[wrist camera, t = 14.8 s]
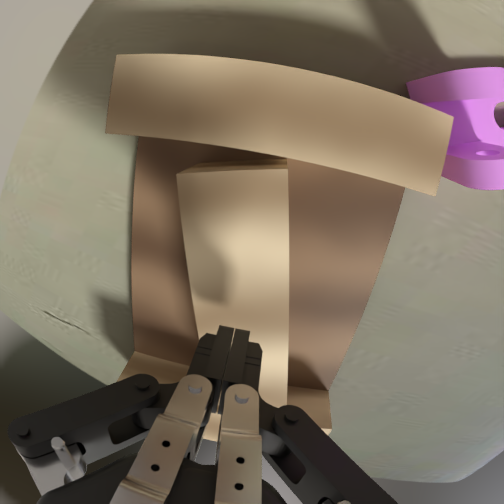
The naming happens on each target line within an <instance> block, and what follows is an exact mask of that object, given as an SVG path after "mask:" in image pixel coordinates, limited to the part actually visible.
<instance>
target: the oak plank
mask: <svg viewBox="0 0 504 504" xmlns="http://www.w3.org/2000/svg"><path fill="white" fill-rule="evenodd" d="M176 176H177V186H178V196H179V205H180V213H181V222H182V230H183V238H184V245H185V253H186V260H187V267H188V274H189V281H190V287H191V294H192V300H193V306H194V312H195V318H196V324H197V330H198V336H199V340H200V338H201V337H202V336H203V335H205V334H206V333H210V334H215V335H216V334H217V331H218V328H219V325H222V326H227V327H232V328H234V332H235V328H237V329H242V330H247V331H250V336H249V342H255V343H259V344H260V346H261V349H262V351H263V353H262V362H261V371H260V380H259V394H260V396H261V398H262V399H263V400H264V401H265V402H266V403H268V404H270V405H272V406H274V407H277V408H279V407H281V406H284V405H287V382H288V343H289V197H288V164H287V159H275V160H244V161H224V162H208V163H198V164H196V165H194V166H192V167H190V168H188V169H186V170H184V171H182V172H180V173H178V174H176ZM233 337H234V333H233ZM232 341H233V339H232ZM231 345H232V344H231ZM220 396H221V394H220ZM219 402H220V399H219ZM218 405H219V403H218Z"/></svg>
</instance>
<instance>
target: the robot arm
mask: <svg viewBox="0 0 504 504" xmlns="http://www.w3.org/2000/svg"><path fill="white" fill-rule="evenodd" d="M233 333H234V337H233ZM249 336H250V331H247V330H242V329H237V328H235V332H234V328H232V327H227V326H222V325H219V328H218V331H217V334H216V335H215V334H210V333H206V334H205V335H203V336H202V337H201V338H200V340H199V342H198V345H197V348H196V350H195V353H194V356H193V359H192V361H191V364H190V367H189V369H188V372H187V375H186V376H185V377H183V378H182V379H181V380H180V381H179V382H176V383H172V384H159V382H158V381H157V379H156V378H155V377H153V376H151V375H148V374H136V375H133V376H131V377H128V378H126V379H123V380H121V381H118V382H116V383H113V384H111V385H108V386H106V387H103V388H101V389H98V390H95V391H93V392H90V393H87V394H85V395H82V396H80V397H77V398H74V399H71V400H68V401H66V402H63V403H61V404H58V405H55V406H52V407H49V408H46V409H43V410H40V411H37V412H34V413H32V414H28V415H25V416H22V417H19V418H17V419H15V420H13V421H12V422H11V423H10V425H9V427H8V436H9V438H10V440H11V442H12V443H13V444H14V446H15V447H16V449H17V451H18V453H19V454H20V455H21V457H22V458H23V459H24V461H25V462H26V464H27V466H28V468H29V471H30V473H31V475H32V477H33V479H34V481H35V483H36V485H37V487H38V489H39V491H40V493H41V495H42V497H41V498H40V499H39V500H38V502H37V504H287V503H286V502H285V501H284V499H283V498H282V497H281V496H280V494H279V493H278V492H277V490H275V488H274V487H273V486H271V485H270V484H269V483H268V482H266V481H264V480H263V479H262V455H263V456H264V458H265V459H266V460H267V461H268V463H269V464H270V465H271V466H272V467H273V469H274V470H275V471H276V472H277V474H278V475H279V476H280V477H281V478H282V480H283V481H284V482H285V483H286V485H287V486H288V487H289V488H290V489H291V490H292V492H293V493H294V494H295V495H296V496H297V497H298V498H299V499H300V501H301V502H302V503H303V504H398V503H397V502H396V501H395V500H394V499H393V498H392V497H391V496H390V495H388V494H387V493H386V492H385V491H384V490H383V489H382V488H381V487H380V486H379V485H378V484H377V483H376V482H374V481H373V480H372V479H371V478H370V477H369V476H368V475H367V474H366V473H365V472H364V471H363V470H362V469H361V468H360V467H359V466H358V465H357V464H356V463H355V462H354V461H353V460H352V459H351V458H350V457H349V456H348V455H347V454H346V453H345V452H344V451H343V450H342V449H341V448H340V447H339V446H338V445H337V444H336V443H335V442H334V441H333V440H332V439H331V438H330V437H329V436H328V435H327V434H326V433H325V432H324V431H323V430H322V429H321V428H320V427H319V426H318V425H317V424H316V423H315V422H314V421H313V420H312V419H311V418H310V417H309V415H308V414H307V413H306V412H305V411H304V410H303V409H301V408H299V407H297V406H294V405H284V406H281V407H279V408H277V407H274V406H272V405H270V404H268V403H266V402H265V401H264V400H263V399H262V398H261V396H260V394H259V380H260V371H261V362H262V353H263V351H262V349H261V346H260V344H259V343H255V342H249ZM232 339H233V341H232ZM231 344H232V345H231ZM220 394H221V396H220ZM219 399H220V402H219ZM218 403H219V408H218V414H221V419H220V425H219V431H218V439H217V448H216V458H215V465H201V464H198V463H196V462H195V459H196V456H197V453H198V450H199V447H200V445H201V442H202V439H203V436H204V433H205V431H206V428H207V424H208V422H209V420H210V416H211V413H216V412H217V407H218ZM144 438H146V439H145V441H144V443H143V445H142V447H141V449H140V451H139V453H134V454H130V455H127V456H124V457H122V458H120V459H118V460H116V461H114V462H112V463H110V464H108V465H106V466H104V467H102V468H100V469H98V470H96V471H94V472H92V473H90V474H87V475H85V476H83V475H84V474H85V472H86V469H87V464H89V463H91V462H94V461H96V460H98V459H101V458H103V457H105V456H108V455H110V454H112V453H114V452H116V451H119V450H121V449H123V448H125V447H127V446H129V445H132V444H133V443H136V442H138V441H140V440H142V439H144ZM82 476H83V477H82Z"/></svg>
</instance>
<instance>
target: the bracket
mask: <svg viewBox="0 0 504 504" xmlns="http://www.w3.org/2000/svg"><path fill="white" fill-rule="evenodd" d="M406 85H407V89H408V92H409V96H410V99H411V100H413V101H416V102H418V103H421V104H423V105H426V106H429V107H431V108H434V109H436V110H438V111H441V112H443V113H446V114H448V115H450V116H452V117H454V119H453V125H452V130H451V135H450V140H449V144H448V149H447V153H446V158H445V162H444V166H443V170H442V174H441V176H443V177H445V178H447V179H450V180H452V181H454V182H457V183H459V184H461V185H463V186H466V187H469V188H474V189H481V190H500V189H504V127H503V128H500V127H499V126H498V125H497V123H496V121H495V118H494V108H495V106H496V104H497V103H499V102H504V68H502V67H481V68H469V69H460V70H453V71H447V72H443V73H439V74H435V75H431V76H427V77H424V78H420V79H417V80H413V81H410V82H406Z"/></svg>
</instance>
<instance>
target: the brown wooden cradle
mask: <svg viewBox="0 0 504 504" xmlns="http://www.w3.org/2000/svg"><path fill="white" fill-rule="evenodd" d="M453 119H454V117H452V116H450V115H448V114H446V113H443V112H441V111H438V110H436V109H434V108H431V107H429V106H426V105H423V104H421V103H418V102H416V101H413V100H410V99H407V98H405V97H402V96H399V95H396V94H393V93H390V92H387V91H384V90H381V89H378V88H374V87H371V86H368V85H364V84H361V83H357V82H354V81H350V80H347V79H343V78H339V77H335V76H331V75H327V74H322V73H318V72H314V71H309V70H304V69H299V68H294V67H289V66H283V65H278V64H272V63H265V62H259V61H251V60H244V59H235V58H226V57H215V56H202V55H185V54H118V55H116V60H115V66H114V71H113V77H112V84H111V90H110V97H109V105H108V113H107V121H106V131H105V133H108V134H122V135H134V136H139V138H138V147H137V157H136V168H135V181H134V196H133V216H132V256H131V275H132V314H133V334H134V349H135V351H134V353H133V355H132V356H131V358H130V360H129V362H128V363H127V365H126V367H125V368H124V370H123V372H122V373H121V375H120V377H119V379H118V380H117V382H118V381H121V380H123V379H126V378H128V377H131V376H133V375H136V374H148V375H151V376H153V377H155V378H156V379H157V381H158V382H159V384H172V383H176V382H179V381H180V380H181V379H182V378H183V377H185V376H186V375H187V372H188V369H189V367H190V364H191V361H192V359H193V356H194V353H195V350H196V348H197V345H198V342H199V336H198V330H197V324H196V318H195V312H194V306H193V300H192V294H191V287H190V281H189V274H188V267H187V260H186V253H185V245H184V238H183V230H182V222H181V213H180V205H179V196H178V186H177V176H176V174H178V173H180V172H182V171H184V170H186V169H188V168H190V167H192V166H194V165H196V164H198V163H208V162H224V161H244V160H275V159H287V164H288V197H289V343H288V382H287V405H294V406H297V407H299V408H301V409H303V410H304V411H305V412H306V413H307V414H308V415H309V417H310V418H311V419H312V420H313V421H314V422H315V423H316V424H317V425H318V426H319V427H320V428H321V429H322V430H323V431H324V432H325V433H326V434H327V435H329V433H330V432H331V430H332V424H331V413H330V403H329V393H328V391H329V389H330V386H331V384H332V382H333V380H334V378H335V376H336V374H337V372H338V370H339V368H340V365H341V363H342V361H343V359H344V357H345V355H346V352H347V350H348V348H349V346H350V343H351V341H352V339H353V336H354V334H355V332H356V329H357V327H358V324H359V322H360V320H361V317H362V315H363V312H364V310H365V307H366V305H367V302H368V299H369V297H370V294H371V292H372V289H373V286H374V284H375V281H376V278H377V275H378V273H379V270H380V267H381V264H382V261H383V258H384V255H385V252H386V249H387V246H388V243H389V240H390V237H391V234H392V231H393V228H394V224H395V221H396V218H397V214H398V211H399V208H400V204H401V201H402V197H403V193H404V190H405V187H406V188H409V189H413V190H416V191H419V192H422V193H426V194H429V195H432V196H436V193H437V189H438V185H439V182H440V178H441V174H442V170H443V166H444V162H445V158H446V153H447V149H448V144H449V140H450V135H451V130H452V125H453ZM218 408H219V405H218V407H217V412H216V413H211V416H210V420H209V422H208V424H207V428H206V431H205V433H204V436H203V438H204V439H208V440H213V441H217V439H218V431H219V425H220V419H221V414H218Z"/></svg>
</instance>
